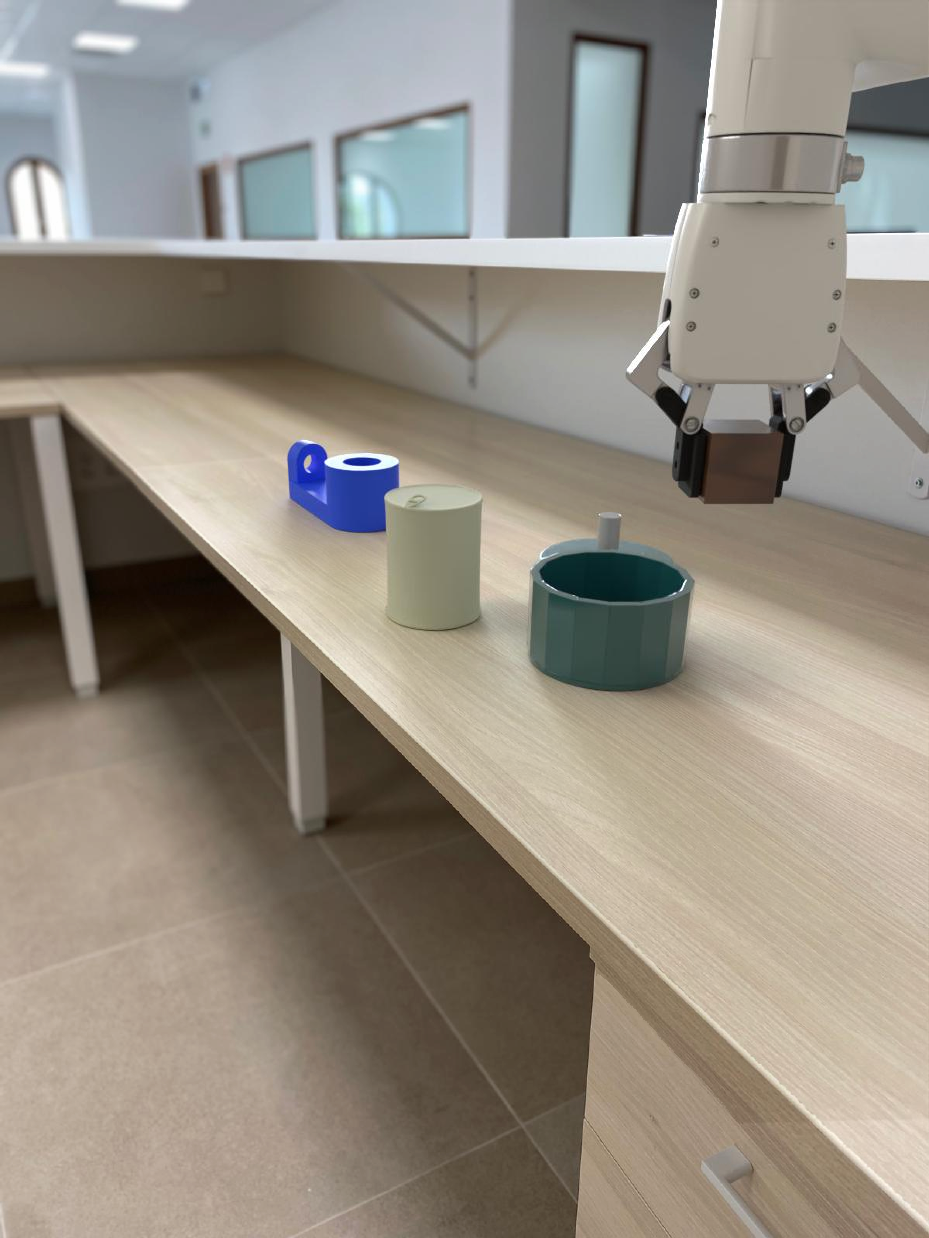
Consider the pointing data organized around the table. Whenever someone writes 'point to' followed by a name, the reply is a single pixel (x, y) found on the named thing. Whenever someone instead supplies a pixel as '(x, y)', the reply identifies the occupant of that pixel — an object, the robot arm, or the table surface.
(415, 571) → the can
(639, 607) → the bowl
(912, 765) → the table surface
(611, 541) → the lid
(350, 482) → the bracket
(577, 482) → the table surface
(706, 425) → the block
